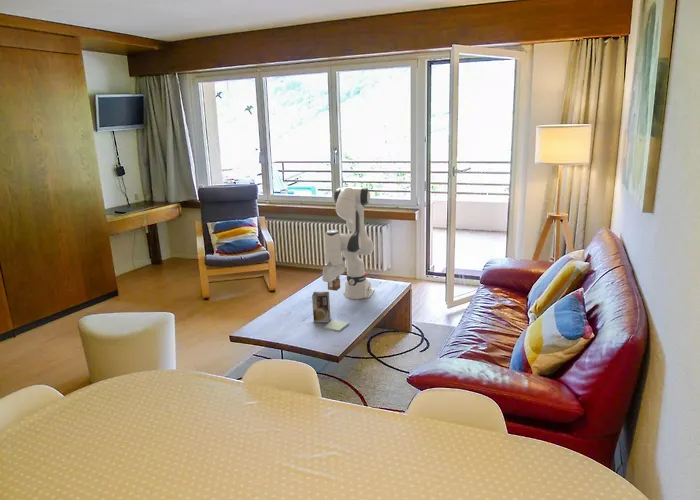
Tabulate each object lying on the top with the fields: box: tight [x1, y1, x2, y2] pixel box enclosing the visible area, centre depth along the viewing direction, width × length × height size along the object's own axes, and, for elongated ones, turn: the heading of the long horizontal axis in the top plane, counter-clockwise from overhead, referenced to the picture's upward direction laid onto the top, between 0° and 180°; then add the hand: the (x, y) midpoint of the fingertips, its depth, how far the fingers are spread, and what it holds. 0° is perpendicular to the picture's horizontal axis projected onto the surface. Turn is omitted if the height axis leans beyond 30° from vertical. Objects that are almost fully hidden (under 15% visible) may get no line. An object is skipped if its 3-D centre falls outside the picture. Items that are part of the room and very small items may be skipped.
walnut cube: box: [327, 278, 341, 291], centre depth 271 cm, size 5×5×5 cm
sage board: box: [323, 319, 350, 333], centre depth 276 cm, size 11×10×1 cm
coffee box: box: [311, 291, 331, 323], centre depth 284 cm, size 9×6×16 cm
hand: (334, 285), depth 271 cm, fingers closed on walnut cube, 5 cm apart
